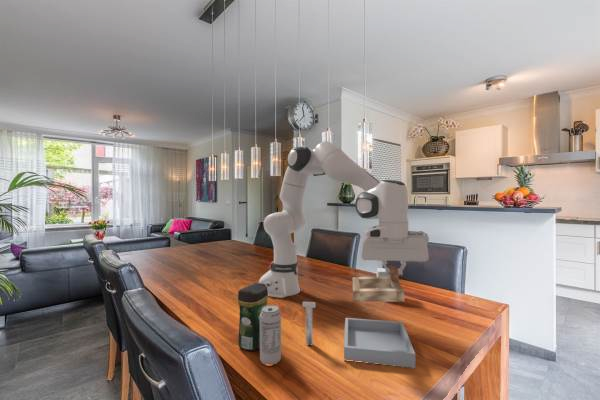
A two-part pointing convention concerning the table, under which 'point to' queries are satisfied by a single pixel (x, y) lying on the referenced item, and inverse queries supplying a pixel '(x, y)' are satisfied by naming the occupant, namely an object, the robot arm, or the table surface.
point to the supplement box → (382, 275)
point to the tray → (378, 342)
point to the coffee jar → (251, 314)
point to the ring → (378, 294)
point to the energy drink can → (270, 334)
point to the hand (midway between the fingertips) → (393, 274)
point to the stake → (309, 320)
